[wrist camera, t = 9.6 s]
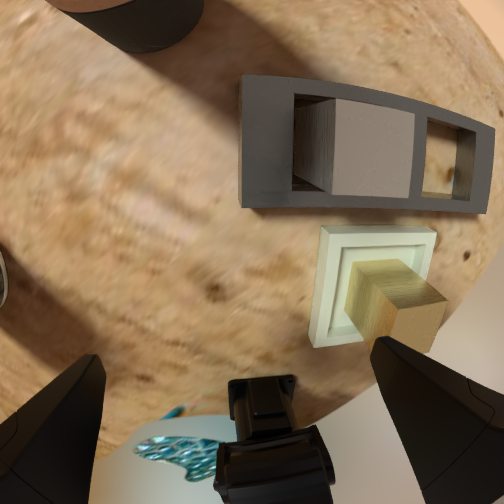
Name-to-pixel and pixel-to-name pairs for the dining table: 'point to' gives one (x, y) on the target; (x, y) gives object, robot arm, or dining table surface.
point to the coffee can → (3, 281)
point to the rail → (287, 195)
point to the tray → (339, 268)
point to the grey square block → (354, 148)
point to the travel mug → (135, 20)
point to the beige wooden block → (393, 304)
